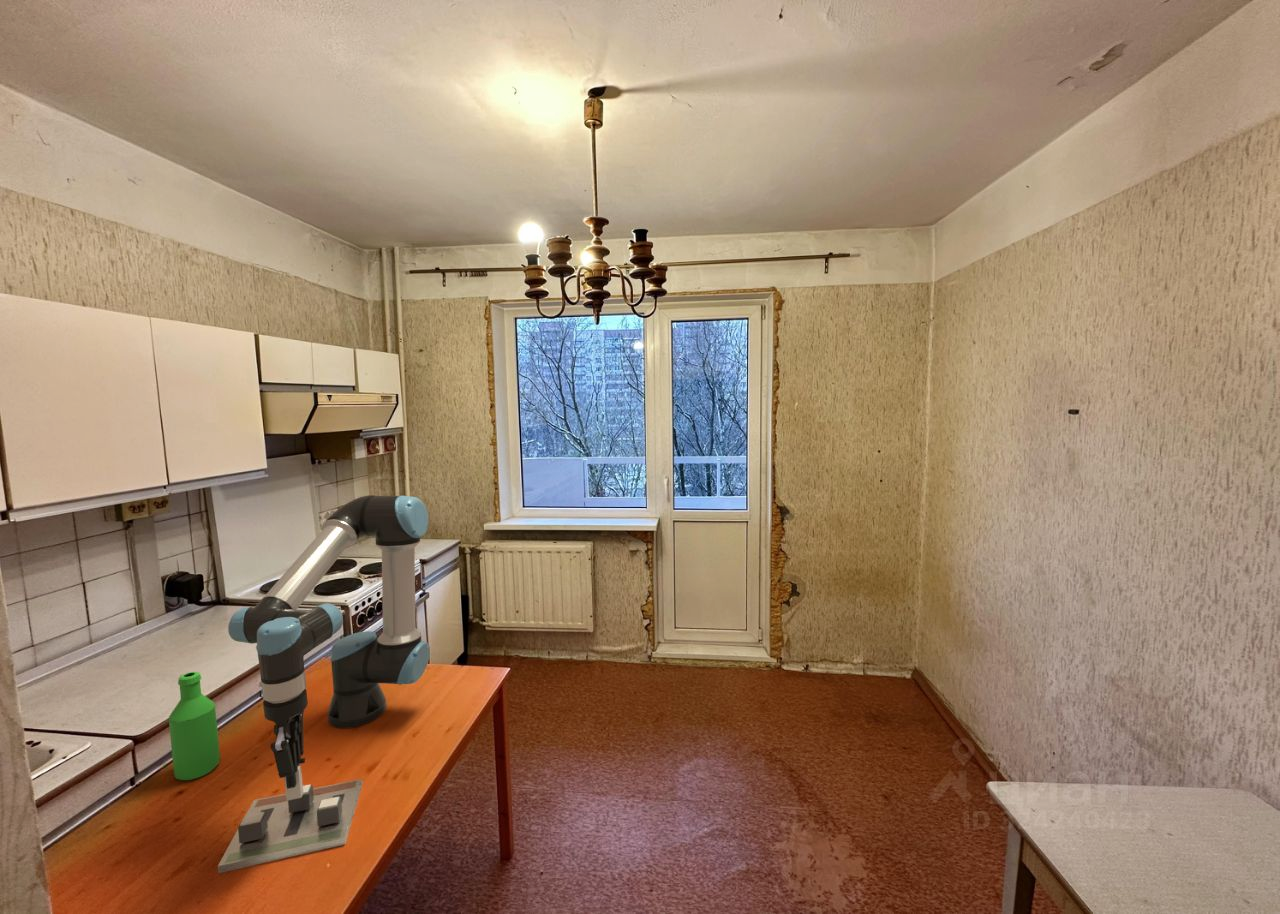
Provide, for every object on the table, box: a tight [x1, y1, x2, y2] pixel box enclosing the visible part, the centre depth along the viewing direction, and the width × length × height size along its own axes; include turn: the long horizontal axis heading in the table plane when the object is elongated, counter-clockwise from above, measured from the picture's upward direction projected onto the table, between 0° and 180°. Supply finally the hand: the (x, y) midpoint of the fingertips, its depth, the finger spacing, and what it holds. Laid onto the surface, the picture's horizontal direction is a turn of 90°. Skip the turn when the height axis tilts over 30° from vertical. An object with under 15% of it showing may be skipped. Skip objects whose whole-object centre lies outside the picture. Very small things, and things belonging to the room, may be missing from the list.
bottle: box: [168, 671, 221, 781], centre depth 130 cm, size 9×9×25 cm
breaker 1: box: [237, 812, 268, 843], centre depth 109 cm, size 3×4×4 cm
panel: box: [217, 778, 363, 874], centre depth 114 cm, size 18×22×2 cm
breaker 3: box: [317, 797, 342, 826], centre depth 113 cm, size 3×4×4 cm
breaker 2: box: [288, 784, 314, 813], centre depth 117 cm, size 3×4×4 cm
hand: (295, 796), depth 112 cm, fingers closed
